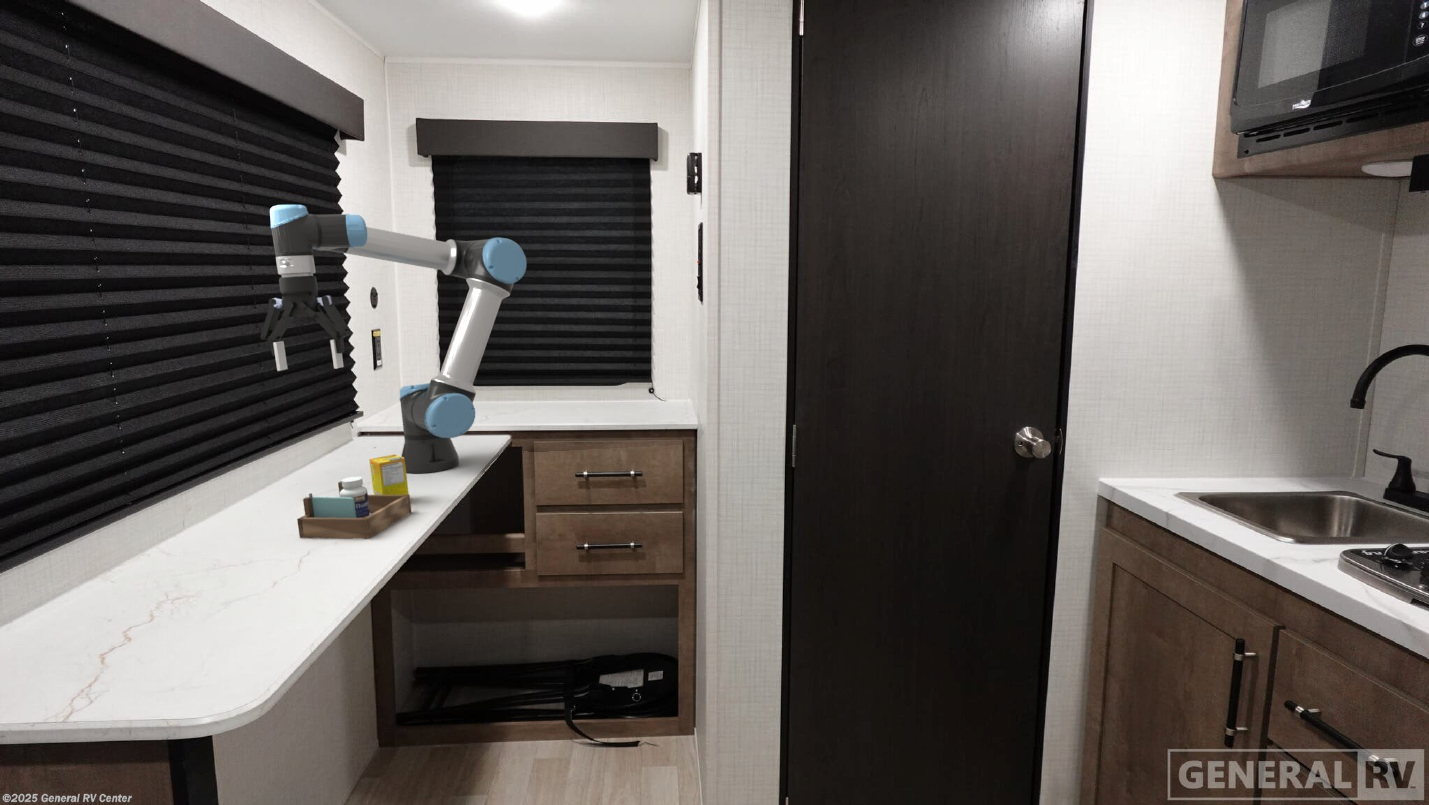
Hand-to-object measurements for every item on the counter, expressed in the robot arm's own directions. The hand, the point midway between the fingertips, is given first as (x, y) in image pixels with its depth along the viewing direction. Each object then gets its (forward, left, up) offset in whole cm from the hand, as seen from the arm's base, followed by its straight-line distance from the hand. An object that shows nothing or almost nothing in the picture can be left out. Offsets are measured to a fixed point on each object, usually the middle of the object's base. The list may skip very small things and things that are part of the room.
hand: (310, 369), depth 179 cm
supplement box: (+3, +18, -32) cm, 37 cm away
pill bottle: (+16, +18, -32) cm, 40 cm away
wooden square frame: (+17, +19, -31) cm, 40 cm away
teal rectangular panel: (+22, +17, -31) cm, 41 cm away
